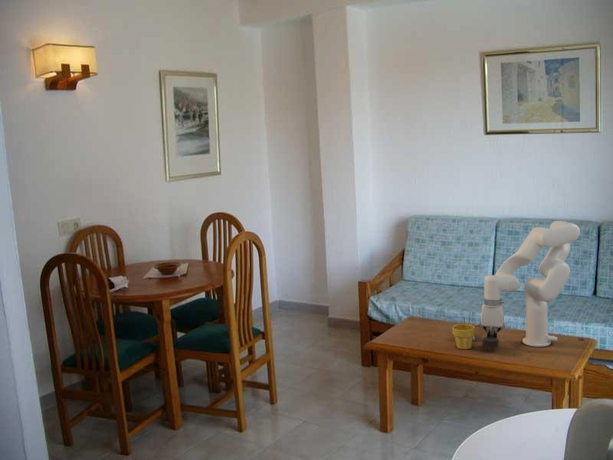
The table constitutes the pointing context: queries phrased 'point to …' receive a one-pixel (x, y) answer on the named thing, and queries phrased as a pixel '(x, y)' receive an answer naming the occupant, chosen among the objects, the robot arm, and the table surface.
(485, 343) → the ladle
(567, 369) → the table surface
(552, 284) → the robot arm
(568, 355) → the table surface
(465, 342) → the flower pot
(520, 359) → the table surface
